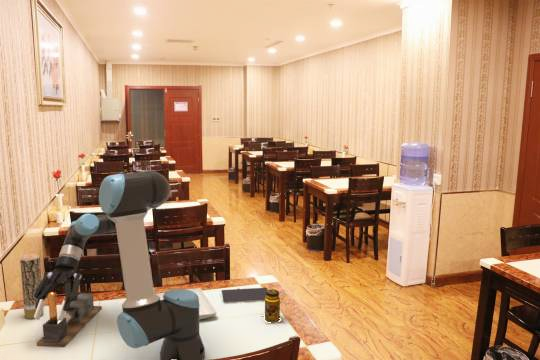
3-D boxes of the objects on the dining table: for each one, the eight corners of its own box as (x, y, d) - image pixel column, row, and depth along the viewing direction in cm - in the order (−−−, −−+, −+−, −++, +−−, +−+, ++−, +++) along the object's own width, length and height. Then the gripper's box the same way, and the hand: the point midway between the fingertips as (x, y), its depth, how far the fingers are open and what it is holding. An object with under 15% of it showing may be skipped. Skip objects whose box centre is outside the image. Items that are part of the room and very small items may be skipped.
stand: (78, 307, 188) (77, 290, 186) (101, 308, 187) (101, 291, 186) (37, 345, 158) (35, 325, 156) (64, 347, 157) (63, 326, 156)
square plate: (138, 304, 193) (138, 295, 192) (200, 294, 204) (200, 286, 203) (148, 333, 168) (147, 323, 168) (217, 320, 179) (217, 311, 178)
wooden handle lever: (72, 313, 175) (70, 275, 173) (80, 313, 175) (78, 275, 173) (47, 335, 158) (45, 293, 156) (56, 335, 158) (53, 294, 155)
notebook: (266, 290, 210) (221, 293, 206) (266, 287, 209) (221, 289, 206) (271, 302, 197) (223, 305, 194) (271, 298, 197) (223, 301, 193)
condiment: (266, 324, 176) (266, 296, 174) (260, 315, 184) (260, 287, 182) (283, 322, 178) (284, 294, 176) (277, 313, 186) (277, 285, 184)
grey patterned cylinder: (35, 320, 176) (31, 260, 172) (20, 318, 177) (16, 258, 173) (47, 312, 183) (43, 254, 179) (32, 311, 184) (28, 253, 180)
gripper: (98, 264, 171) (80, 323, 157) (47, 262, 172) (24, 321, 159) (91, 255, 165) (72, 316, 151) (38, 254, 166) (14, 314, 153)
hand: (48, 318), depth 155 cm, fingers open, 8 cm apart
